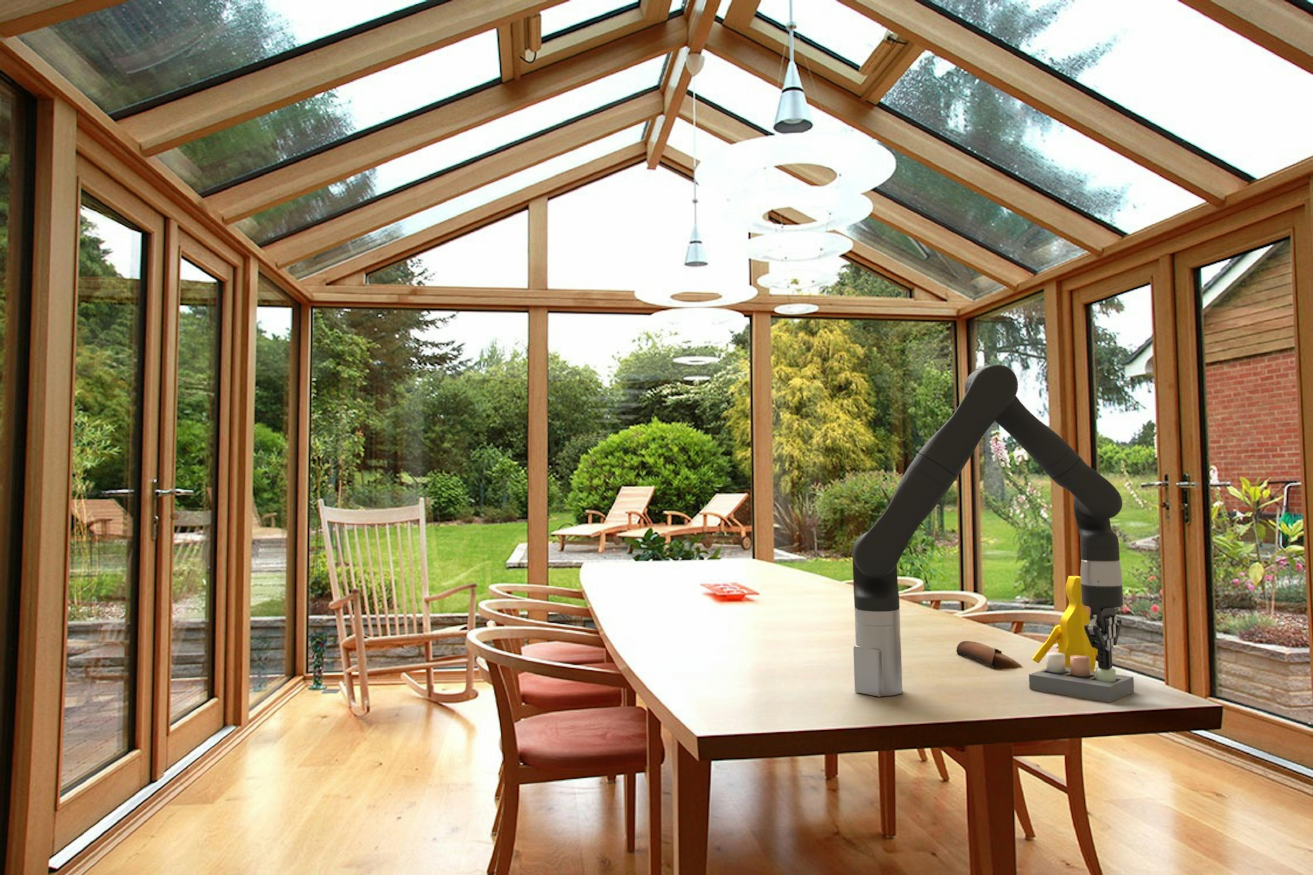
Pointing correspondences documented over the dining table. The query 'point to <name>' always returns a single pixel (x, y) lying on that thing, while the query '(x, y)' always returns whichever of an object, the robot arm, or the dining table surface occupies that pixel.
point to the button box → (1081, 685)
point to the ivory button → (1055, 662)
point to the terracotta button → (1080, 665)
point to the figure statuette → (1071, 629)
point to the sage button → (1106, 675)
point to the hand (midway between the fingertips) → (1105, 668)
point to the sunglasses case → (986, 655)
